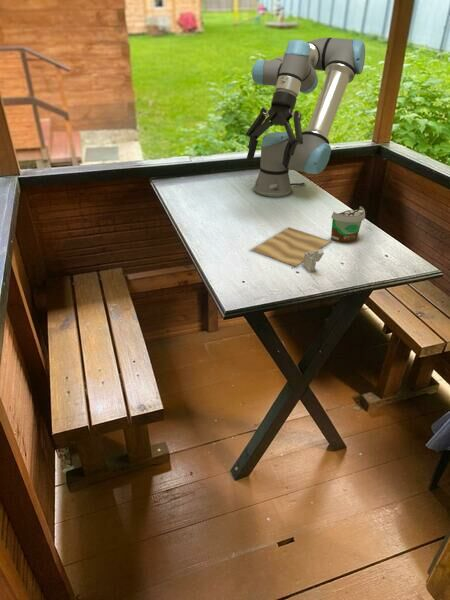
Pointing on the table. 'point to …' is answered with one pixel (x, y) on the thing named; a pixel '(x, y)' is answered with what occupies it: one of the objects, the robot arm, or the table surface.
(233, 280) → the table surface
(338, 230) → the food container
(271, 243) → the wooden board
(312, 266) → the lighter
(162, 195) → the table surface
